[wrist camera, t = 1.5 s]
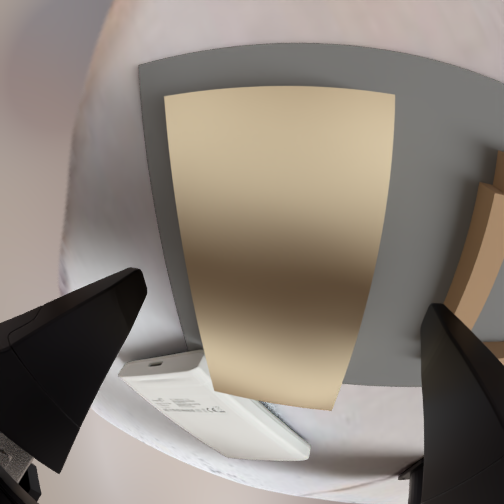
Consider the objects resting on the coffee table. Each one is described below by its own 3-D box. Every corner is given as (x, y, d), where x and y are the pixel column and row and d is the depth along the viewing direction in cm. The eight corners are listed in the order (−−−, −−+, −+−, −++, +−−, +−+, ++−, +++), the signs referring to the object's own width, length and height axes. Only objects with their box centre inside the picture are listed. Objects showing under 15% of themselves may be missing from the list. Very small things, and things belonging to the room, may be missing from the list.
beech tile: (336, 365, 12) (331, 410, 10) (231, 349, 13) (214, 390, 11) (376, 96, 7) (395, 94, 4) (206, 94, 8) (164, 96, 6)
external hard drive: (229, 442, 22) (126, 361, 17) (312, 442, 18) (207, 346, 14) (224, 457, 20) (114, 378, 16) (308, 460, 16) (195, 372, 12)
